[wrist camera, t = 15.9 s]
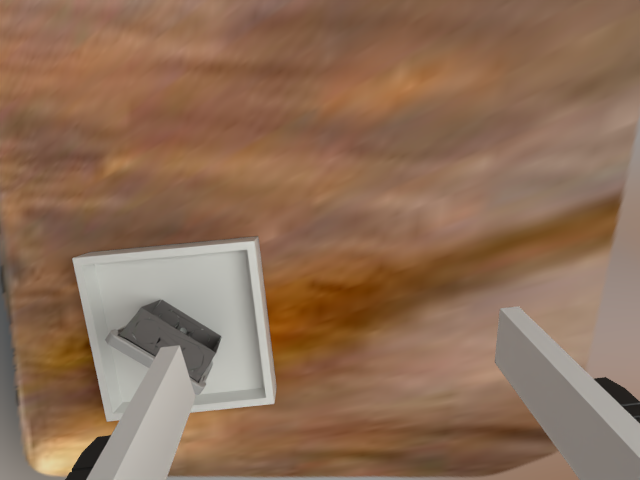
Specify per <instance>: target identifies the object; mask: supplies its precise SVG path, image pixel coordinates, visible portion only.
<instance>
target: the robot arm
mask: <svg viewBox="0 0 640 480" xmlns="http://www.w3.org/2000/svg"><path fill="white" fill-rule="evenodd" d="M495 363H496V365H497V366H498V368H499V369H500V370H501V372H502V373H503V374H504V376H505V377H506V379H507V380H508V381H509V383H510V384H511V385H512V387H513V388H514V390H515V391H516V392H517V394H518V395H519V396H520V398H521V399H522V401H523V402H524V403H525V405H526V406H527V408H528V409H529V410H530V412H531V413H532V414H533V416H534V417H535V419H536V420H537V421H538V423H539V424H540V425H541V427H542V428H543V430H544V431H545V432H546V434H547V435H548V436H549V438H550V439H551V441H552V442H553V443H554V445H555V446H556V448H557V449H558V450H559V452H560V453H561V454H562V456H563V457H564V459H565V460H566V461H567V463H568V464H569V465H570V467H571V468H572V470H573V471H574V472H575V474H576V475H577V476H578V478H579V479H580V480H640V401H638V400H637V399H636V398H635V397H634V396H633V395H632V394H631V393H629V392H628V391H627V390H626V389H625V388H623V387H621V386H620V385H618V384H616V383H615V382H613V381H611V380H609V379H608V378H606V377H605V378H597V379H593V378H592V377H591V376H590V375H589V374H588V373H587V372H586V371H585V370H584V369H583V368H582V367H581V366H580V365H579V364H578V363H577V362H576V361H574V360H573V359H572V358H571V357H570V356H569V355H568V354H567V353H566V352H565V351H564V350H563V349H562V348H561V347H560V346H559V345H558V344H557V343H556V342H555V341H554V340H553V339H552V338H551V337H550V336H549V335H548V334H547V333H546V332H545V331H544V330H542V329H541V328H540V327H539V326H538V325H537V324H536V323H535V322H534V321H533V320H532V319H531V318H530V317H529V316H528V315H527V314H526V313H525V312H524V311H523V310H522V309H521V308H520V307H519V306H518V307H509V308H501V309H500V314H499V324H498V334H497V344H496V354H495ZM194 400H195V393H194V390H193V387H192V384H191V380H190V377H189V374H188V371H187V367H186V364H185V361H184V358H183V354H182V351H181V348H180V345H178V346H169V347H161V348H160V350H159V352H158V354H157V355H156V357H155V359H154V361H153V362H152V364H151V366H150V368H149V370H148V371H147V373H146V375H145V377H144V378H143V380H142V382H141V384H140V385H139V387H138V389H137V391H136V393H135V394H134V396H133V398H132V400H131V401H130V403H129V405H128V407H127V408H126V410H125V412H124V414H123V416H122V417H121V419H120V421H119V423H118V424H117V426H116V428H115V430H114V431H113V433H112V435H110V436H102V437H97V438H96V439H95V440H94V441H93V442H92V443H91V444H90V445H89V446H88V447H87V448H86V449H85V450H84V451H83V452H82V454H81V455H80V457H79V458H78V460H77V462H76V463H75V465H74V467H73V468H72V472H70V473H69V475H68V476H67V478H66V479H65V480H166V478H167V475H168V473H169V470H170V467H171V464H172V461H173V459H174V456H175V453H176V450H177V447H178V445H179V442H180V439H181V436H182V433H183V431H184V428H185V425H186V422H187V419H188V417H189V414H190V411H191V408H192V405H193V402H194Z"/></svg>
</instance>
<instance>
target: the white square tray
mask: <svg viewBox="0 0 640 480" xmlns="http://www.w3.org/2000/svg"><path fill="white" fill-rule="evenodd" d="M72 260H73V264H74V269H75V274H76V278H77V283H78V288H79V293H80V297H81V302H82V307H83V312H84V316H85V321H86V326H87V330H88V335H89V340H90V345H91V349H92V354H93V359H94V364H95V368H96V373H97V378H98V382H99V387H100V392H101V397H102V401H103V406H104V411H105V416H106V420H107V421H116V420H120V419H121V417H122V416H123V414H124V412H125V410H126V408H127V407H128V405H129V403H130V401H131V400H132V398H133V396H134V394H135V393H136V391H137V389H138V387H139V385H140V384H141V382H142V380H143V378H144V377H145V375H146V373H147V371H148V370H149V368H148V367H146V366H144V365H143V364H141V363H139V362H138V361H136V360H134V359H132V358H131V357H129V356H127V355H126V354H124V353H122V352H120V351H119V350H117V349H115V348H114V347H112V346H110V345H109V344H107V342H106V341H105V339H106V337H107V336H108V334H109V333H110V331H111V330H114V329H116V330H118V329H120V328H122V327H124V326H126V325H127V324H128V323H129V322H130V321H131V319H132V318H133V317H134V316H135V315H136V314H137V312H138V311H139V309H140V308H141V307H142V306H145V305H148V304H150V303H153V302H155V301H158V300H164V301H165V302H167V303H168V304H170V305H172V306H173V307H175V308H177V309H178V310H180V311H181V312H183V313H185V314H186V315H188V316H190V317H191V318H193V319H194V320H196V321H198V322H199V323H201V324H203V325H204V326H206V327H207V328H209V329H211V330H212V331H214V332H216V333H217V334H219V335H220V336H221V337H222V338H220V339H221V341H220V344H219V346H218V349H217V352H216V354H215V356H214V357H213V359H212V362H213V366H212V368H211V370H210V372H209V374H208V377H207V379H206V381H205V383H206V386H205V388H204V389H203V390H202V392H201V393H200V394H199V395H196V394H195V400H194V402H193V405H192V408H191V411H190V413H192V412H201V411H211V410H220V409H229V408H239V407H248V406H258V405H267V404H274V402H275V395H276V380H275V371H274V363H273V355H272V346H271V338H270V330H269V321H268V313H267V305H266V296H265V288H264V280H263V271H262V263H261V255H260V246H259V238H258V236H256V237H245V238H235V239H224V240H213V241H203V242H192V243H182V244H171V245H160V246H150V247H139V248H129V249H118V250H108V251H97V252H89V253H86V254H83V255H80V256H77V257H74V258H72ZM159 303H160V302H159ZM156 307H157V306H156ZM160 315H161V314H160ZM177 316H178V315H177ZM159 317H160V316H159ZM178 317H179V316H178ZM178 324H179V322H178ZM178 324H177V325H176V326H175V328H176V327H177V326H178ZM202 330H203V329H202ZM180 331H181V332H183V333H185V334H186V333H187V330H186V329H185V328H181V329H180ZM192 332H194V331H192ZM192 332H191V334H192ZM191 334H190V336H191ZM220 339H219V340H220Z"/></svg>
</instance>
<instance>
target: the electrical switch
mask: <svg viewBox="0 0 640 480" xmlns="http://www.w3.org/2000/svg"><path fill="white" fill-rule="evenodd" d="M159 302H160V303H159ZM156 306H157V307H156ZM160 314H161V315H160ZM177 315H178V316H179V317H178V316H177ZM159 316H160V317H159ZM178 322H179V324H178ZM177 324H178V326H177V327H176V328H175V326H176V325H177ZM181 328H185V329H186V330H187V333H186V334H185V333H183V332H181V331H180V329H181ZM202 329H203V330H202ZM192 331H194V332H192ZM191 332H192V334H191ZM190 334H191V336H190ZM220 338H222V337H221V336H220V335H219V334H217V333H216V332H214V331H212V330H211V329H209V328H207V327H206V326H204V325H203V324H201V323H199V322H198V321H196V320H194V319H193V318H191V317H190V316H188V315H186V314H185V313H183V312H181V311H180V310H178V309H177V308H175V307H173V306H172V305H170V304H168V303H167V302H165V301H164V300H158V301H155V302H153V303H150V304H148V305H145V306H142V307H141V308H140V309H139V311H138V312H137V314H136V315H135V316H134V317H133V318H132V319H131V321H130V322H129V323H128V324H127V325H126V326H124V327H122V328H120V329H118V330H116V329H114V330H111V331H110V333H109V334H108V336H107V337H106V339H105V341H106V342H107V344H109V345H110V346H112V347H114V348H115V349H117V350H119V351H120V352H122V353H124V354H126V355H127V356H129V357H131V358H132V359H134V360H136V361H138V362H139V363H141V364H143V365H144V366H146V367H148V368H150V366H151V364H152V362H153V361H154V359H155V357H156V355H157V354H158V352H159V350H160V348H161V347H169V346H178V345H180V348H181V351H182V354H183V358H184V361H185V364H186V367H187V371H188V374H189V377H190V380H191V384H192V387H193V390H194V393H195V394H196V395H199V394H200V393H201V392H202V390H203V389H204V388H205V386H206V383H205V381H206V379H207V377H208V374H209V372H210V370H211V368H212V366H213V362H212V359H213V357H214V356H215V354H216V352H217V349H218V346H219V344H220V341H221V339H220ZM219 339H220V340H219Z"/></svg>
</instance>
